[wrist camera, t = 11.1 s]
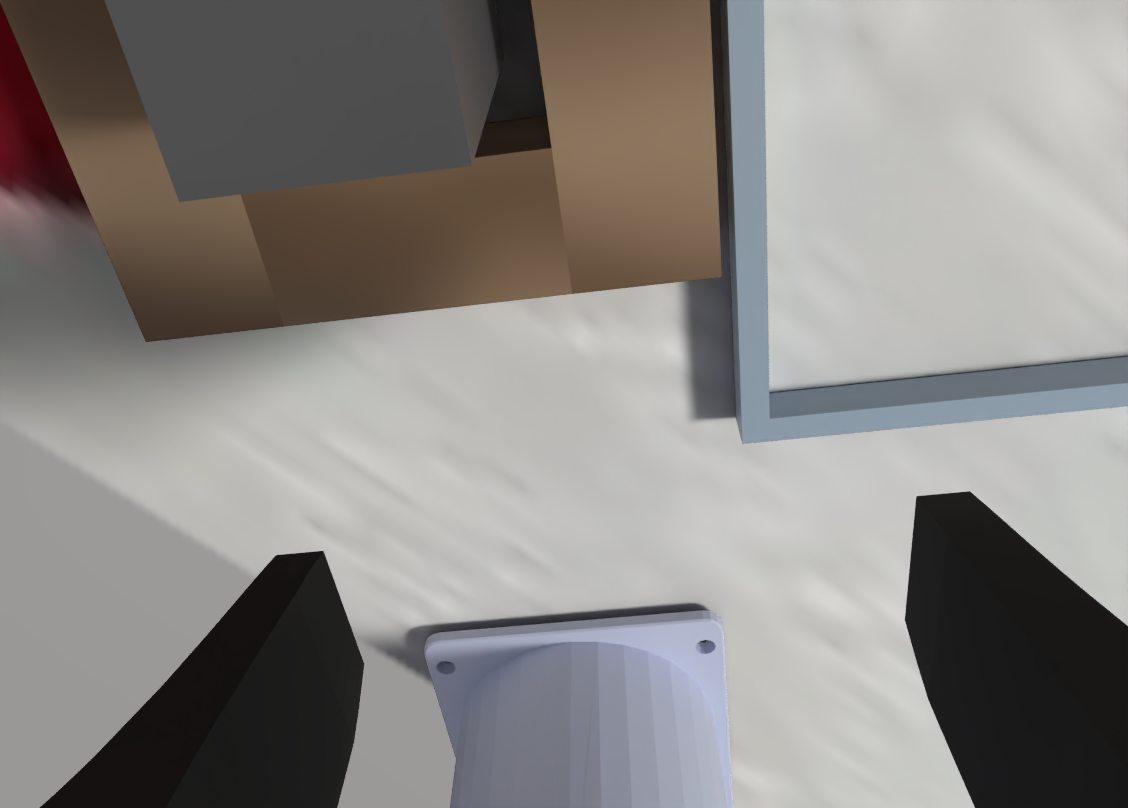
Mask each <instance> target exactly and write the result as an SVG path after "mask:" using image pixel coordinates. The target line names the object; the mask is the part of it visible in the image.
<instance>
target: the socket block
mask: <svg viewBox="0 0 1128 808" xmlns="http://www.w3.org/2000/svg"><path fill="white" fill-rule="evenodd" d="M0 3H1V5H2V8H3V10H4V12H5V15H6V17H7V19H8V22H9V24H10V26H11V29H12V31H13V33H14V36H15V38H16V40H17V43H18V45H19V47H20V50H21V52H22V54H23V57H24V59H25V61H26V64H27V66H28V68H29V71H30V73H31V75H32V78H33V80H34V82H35V85H36V87H37V89H38V92H39V94H40V96H41V99H42V101H43V103H44V106H45V108H46V110H47V113H48V115H49V117H50V120H51V122H52V124H53V127H54V129H55V131H56V134H57V136H58V138H59V141H60V143H61V145H62V148H63V150H64V152H65V155H66V157H67V159H68V162H69V164H70V166H71V169H72V171H73V173H74V176H75V178H76V180H77V183H78V185H79V187H80V190H81V192H82V194H83V197H84V199H85V201H86V204H87V206H88V208H89V211H90V213H91V215H92V218H93V220H94V222H95V225H96V227H97V229H98V232H99V234H100V236H101V239H102V241H103V243H104V246H105V248H106V250H107V253H108V255H109V257H110V260H111V262H112V264H113V267H114V269H115V271H116V274H117V276H118V278H119V281H120V283H121V285H122V287H123V290H124V292H125V294H126V297H127V299H128V301H129V304H130V306H131V308H132V311H133V313H134V315H135V318H136V320H137V322H138V325H139V327H140V329H141V332H142V334H143V336H144V339H145V341H146V342H150V341H159V340H168V339H177V338H186V337H194V336H203V335H212V334H221V333H230V332H239V331H248V330H256V329H265V328H274V327H283V326H292V325H301V324H310V323H318V322H327V321H336V320H345V319H354V318H363V317H372V316H380V315H389V314H398V313H407V312H416V311H425V310H434V309H442V308H451V307H460V306H469V305H478V304H487V303H496V302H504V301H513V300H522V299H531V298H540V297H549V296H558V295H566V294H575V293H584V292H593V291H602V290H611V289H619V288H628V287H637V286H646V285H655V284H664V283H673V282H681V281H690V280H699V279H708V278H717V277H722V270H721V247H720V224H719V201H718V178H717V155H716V132H715V110H714V87H713V64H712V41H711V18H710V0H531V5H532V12H533V19H534V26H535V33H536V40H537V48H538V55H539V62H540V69H541V76H542V83H543V90H544V97H545V104H546V112H547V116H540V117H533V118H525V119H517V120H509V121H502V122H494V123H486V124H484V127H483V131H482V134H481V137H480V141H479V144H478V148H477V151H476V154H475V158H474V161H473V164H472V166H467V167H459V168H451V169H443V170H435V171H427V172H418V173H410V174H402V175H394V176H386V177H378V178H370V179H362V180H354V181H346V182H338V183H329V184H321V185H313V186H305V187H297V188H289V189H281V190H273V191H265V192H257V193H249V194H240V195H232V196H224V197H216V198H208V199H200V200H192V201H184V202H179V200H178V197H177V195H176V192H175V189H174V187H173V184H172V181H171V179H170V176H169V173H168V170H167V168H166V165H165V162H164V160H163V157H162V154H161V152H160V149H159V146H158V143H157V141H156V138H155V135H154V133H153V130H152V127H151V125H150V122H149V119H148V117H147V114H146V111H145V108H144V106H143V103H142V100H141V98H140V95H139V92H138V90H137V87H136V84H135V81H134V79H133V76H132V73H131V71H130V68H129V65H128V63H127V60H126V57H125V54H124V52H123V49H122V46H121V44H120V41H119V38H118V36H117V33H116V30H115V27H114V25H113V22H112V19H111V17H110V14H109V11H108V9H107V6H106V3H105V0H0Z"/></svg>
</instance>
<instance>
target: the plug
mask: <svg viewBox="0 0 1128 808" xmlns="http://www.w3.org/2000/svg"><path fill="white" fill-rule="evenodd" d="M105 3H106V6H107V9H108V11H109V14H110V17H111V19H112V22H113V25H114V27H115V30H116V33H117V36H118V38H119V41H120V44H121V46H122V49H123V52H124V54H125V57H126V60H127V63H128V65H129V68H130V71H131V73H132V76H133V79H134V81H135V84H136V87H137V90H138V92H139V95H140V98H141V100H142V103H143V106H144V108H145V111H146V114H147V117H148V119H149V122H150V125H151V127H152V130H153V133H154V135H155V138H156V141H157V143H158V146H159V149H160V152H161V154H162V157H163V160H164V162H165V165H166V168H167V170H168V173H169V176H170V179H171V181H172V184H173V187H174V189H175V192H176V195H177V197H178V200H179V202H184V201H192V200H200V199H208V198H216V197H224V196H232V195H240V194H249V193H257V192H265V191H273V190H281V189H289V188H297V187H305V186H313V185H321V184H329V183H338V182H346V181H354V180H362V179H370V178H378V177H386V176H394V175H402V174H410V173H418V172H427V171H435V170H443V169H451V168H459V167H467V166H472V164H473V161H474V158H475V154H476V151H477V148H478V144H479V141H480V137H481V134H482V131H483V127H484V124H485V121H486V117H487V114H488V110H489V107H490V104H491V100H492V97H493V94H494V90H495V87H496V83H497V80H498V77H499V73H500V70H501V67H502V63H503V60H504V55H503V48H502V42H501V36H500V30H499V23H498V17H497V11H496V5H495V0H105Z"/></svg>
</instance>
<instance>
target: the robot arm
mask: <svg viewBox="0 0 1128 808" xmlns="http://www.w3.org/2000/svg"><path fill="white" fill-rule="evenodd" d="M905 622H906V625H907V629H908V632H909V636H910V639H911V643H912V646H913V650H914V653H915V657H916V660H917V664H918V667H919V670H920V674H921V677H922V680H923V683H924V687H925V690H926V693H927V696H928V699H929V702H930V704H931V707H932V709H933V711H934V714H935V716H936V719H937V721H938V723H939V726H940V728H941V730H942V732H943V735H944V737H945V739H946V742H947V744H948V746H949V749H950V751H951V753H952V756H953V758H954V760H955V763H956V765H957V767H958V770H959V772H960V774H961V776H962V779H963V781H964V783H965V786H966V788H967V790H968V792H969V795H970V797H971V799H972V802H973V804H974V806H975V808H1128V626H1127V625H1126V624H1125V623H1123V622H1122V621H1121V620H1120V619H1118V618H1117V617H1116V616H1115V615H1113V614H1112V613H1111V612H1110V611H1109V610H1107V609H1106V608H1105V607H1104V606H1102V605H1101V604H1100V603H1099V602H1098V601H1096V600H1095V599H1094V598H1093V597H1091V596H1090V595H1089V594H1088V593H1087V592H1085V591H1084V590H1083V589H1082V588H1080V587H1079V586H1078V585H1077V584H1076V583H1074V582H1073V581H1072V580H1071V579H1070V578H1069V577H1067V576H1066V575H1065V574H1064V573H1063V572H1061V571H1060V570H1059V569H1058V568H1057V567H1056V566H1055V565H1053V564H1052V563H1051V562H1050V561H1049V560H1048V559H1046V558H1045V557H1044V556H1043V555H1042V554H1041V553H1040V552H1038V551H1037V550H1036V549H1035V548H1034V547H1033V546H1032V545H1030V544H1029V543H1028V542H1027V541H1026V540H1025V539H1024V538H1022V537H1021V536H1020V535H1019V534H1018V533H1017V532H1016V531H1015V530H1013V529H1012V528H1011V527H1010V526H1009V525H1008V524H1007V523H1006V522H1004V521H1003V520H1002V519H1001V518H1000V517H999V516H998V515H996V514H995V513H994V512H993V511H992V510H991V509H990V508H988V507H987V506H986V505H985V504H984V503H983V502H982V501H980V500H979V499H978V498H977V497H976V496H975V495H973V494H972V493H971V492H959V493H948V494H937V495H926V496H917V497H916V507H915V518H914V529H913V539H912V550H911V561H910V571H909V582H908V593H907V604H906V614H905ZM703 640H710V641H708V642H705V643H703V642H700V641H703ZM424 656H425V659H426V663H427V666H428V669H429V672H430V676H431V679H432V682H433V685H434V689H435V692H436V695H437V698H438V701H439V705H440V708H441V711H442V714H443V717H444V721H445V724H446V728H447V731H448V734H449V737H450V741H451V744H452V747H453V750H454V753H455V757H456V765H455V773H454V781H453V788H452V796H451V804H450V808H733V794H732V776H731V758H730V739H729V721H728V703H727V685H726V667H725V649H724V631H723V625H722V621H721V618H720V617H719V616H718V615H717V614H716V613H714V612H711V611H704V610H701V611H689V612H677V613H665V614H653V615H641V616H629V617H617V618H605V619H593V620H581V621H570V622H558V623H546V624H534V625H522V626H510V627H498V628H486V629H474V630H462V631H450V632H440V633H435V634H433V635H431V636H430V637H428V639H427V640H426V643H425V648H424ZM443 661H448V662H451V663H444V662H443ZM363 669H364V662H363V660H362V657H361V654H360V651H359V649H358V646H357V643H356V640H355V637H354V635H353V632H352V629H351V626H350V624H349V621H348V618H347V615H346V613H345V610H344V607H343V604H342V601H341V599H340V596H339V593H338V590H337V588H336V585H335V582H334V579H333V577H332V574H331V571H330V568H329V565H328V563H327V560H326V557H325V554H324V552H323V551H318V552H307V553H296V554H285V555H276V556H275V557H274V558H273V559H272V561H271V562H270V563H269V564H268V565H267V566H266V567H265V568H264V569H263V571H262V572H261V573H260V574H259V575H258V576H257V577H256V579H255V580H254V581H253V582H252V583H251V584H250V586H249V587H248V588H247V589H246V590H245V591H244V593H243V594H242V595H241V596H240V597H239V598H238V600H237V601H236V602H235V603H234V604H233V606H232V607H231V608H230V609H229V610H228V611H227V613H226V614H225V615H224V616H223V617H222V618H221V620H220V621H219V622H218V623H217V624H216V625H215V627H214V628H213V629H212V630H211V631H210V632H209V633H208V635H207V636H206V637H205V638H204V639H203V640H202V641H201V643H200V644H199V645H198V646H197V647H196V648H195V649H194V651H193V652H192V653H191V654H190V655H189V656H188V657H187V658H186V660H185V661H184V662H183V663H182V664H181V665H180V667H179V668H178V669H177V670H176V671H175V672H174V673H173V674H172V675H171V677H170V678H169V679H168V680H167V681H166V682H165V683H164V685H162V687H161V688H160V689H159V690H158V691H157V692H156V693H155V694H154V695H153V696H152V697H151V698H150V699H149V700H148V701H147V702H146V703H145V704H144V705H143V706H142V708H141V709H140V710H139V711H138V712H137V713H136V714H135V715H134V716H133V717H132V718H131V719H130V720H129V721H128V722H127V723H126V724H125V725H124V726H123V727H122V728H121V730H119V732H118V733H117V734H116V735H115V736H114V737H113V738H112V739H111V740H110V741H109V742H108V743H107V744H106V745H105V746H104V747H103V748H102V749H101V750H100V751H99V752H98V753H97V754H96V755H95V757H93V758H92V759H91V761H89V762H88V763H87V764H86V765H85V766H84V767H83V768H82V769H81V770H80V771H79V772H78V773H77V774H76V775H75V776H74V777H73V778H72V779H71V780H69V781H68V782H67V783H66V784H65V785H64V786H63V787H62V788H61V789H60V790H59V791H58V792H57V793H56V794H55V795H53V796H52V797H51V798H50V799H49V800H48V801H47V802H46V803H45V804H43V805H42V806H41V807H40V808H337V806H338V802H339V798H340V794H341V790H342V787H343V783H344V779H345V775H346V771H347V767H348V763H349V759H350V755H351V751H352V747H353V743H354V738H355V731H356V723H357V717H358V710H359V702H360V694H361V685H362V677H363Z"/></svg>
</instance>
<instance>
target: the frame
mask: <svg viewBox="0 0 1128 808" xmlns="http://www.w3.org/2000/svg"><path fill="white" fill-rule="evenodd" d="M720 9H721V35H722V62H723V88H724V114H725V140H726V167H727V193H728V219H729V245H730V272H731V298H732V324H733V351H734V377H735V403H736V420H737V424H738V428H739V432H740V436H741V440H742V444H747V443H757V442H767V441H777V440H787V439H798V438H808V437H818V436H828V435H838V434H848V433H859V432H869V431H879V430H889V429H899V428H910V427H920V426H930V425H940V424H950V423H961V422H971V421H981V420H991V419H1001V418H1012V417H1022V416H1032V415H1042V414H1052V413H1063V412H1073V411H1083V410H1093V409H1103V408H1114V407H1124V406H1128V357H1119V358H1109V359H1100V360H1090V361H1080V362H1070V363H1060V364H1051V365H1041V366H1031V367H1021V368H1012V369H1002V370H992V371H982V372H972V373H963V374H953V375H943V376H933V377H924V378H914V379H904V380H894V381H884V382H875V383H865V384H855V385H845V386H836V387H826V388H816V389H806V390H796V391H787V392H777V393H769V345H768V276H767V207H766V139H765V70H764V2H763V0H720Z"/></svg>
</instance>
